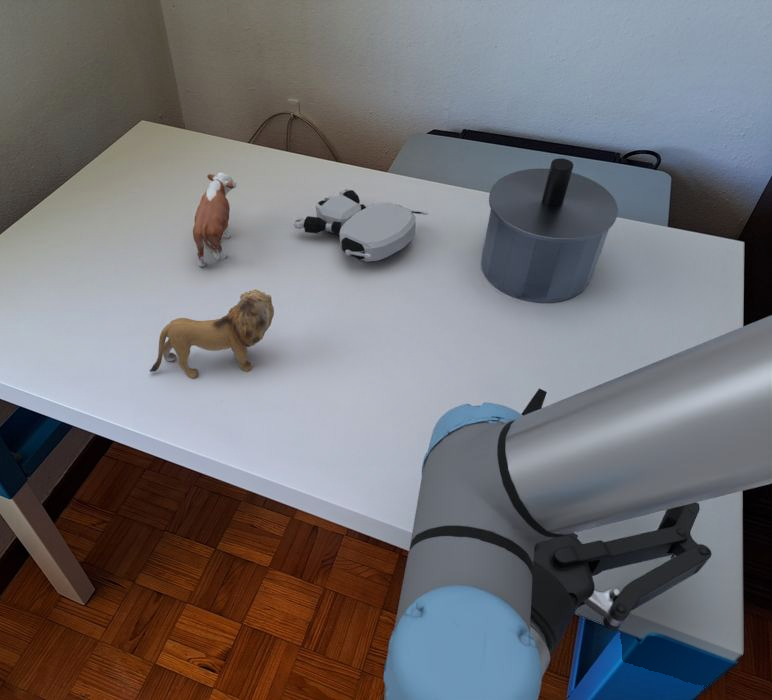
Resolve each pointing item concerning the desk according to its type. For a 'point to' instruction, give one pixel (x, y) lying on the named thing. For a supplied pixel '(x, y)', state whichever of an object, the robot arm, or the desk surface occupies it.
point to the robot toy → (363, 225)
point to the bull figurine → (213, 217)
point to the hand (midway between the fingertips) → (612, 433)
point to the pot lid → (553, 204)
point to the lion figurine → (219, 332)
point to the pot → (538, 264)
